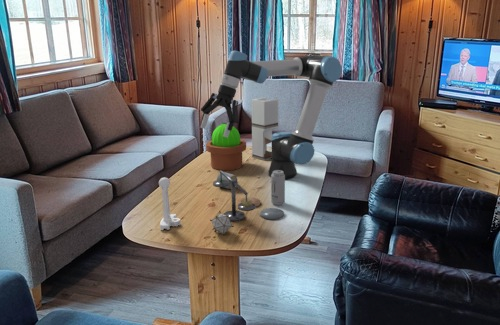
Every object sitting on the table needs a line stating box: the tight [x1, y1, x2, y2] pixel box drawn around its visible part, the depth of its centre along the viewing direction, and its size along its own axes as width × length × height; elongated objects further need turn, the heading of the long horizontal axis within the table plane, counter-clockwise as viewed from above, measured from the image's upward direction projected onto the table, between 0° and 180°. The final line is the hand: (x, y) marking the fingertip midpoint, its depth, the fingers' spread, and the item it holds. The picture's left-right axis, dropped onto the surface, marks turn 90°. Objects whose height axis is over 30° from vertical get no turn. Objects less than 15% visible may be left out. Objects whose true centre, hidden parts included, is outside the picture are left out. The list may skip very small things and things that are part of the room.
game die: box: [209, 211, 235, 236], centre depth 173 cm, size 9×8×10 cm
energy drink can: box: [270, 170, 286, 207], centre depth 200 cm, size 6×6×15 cm
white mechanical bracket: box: [158, 177, 181, 231], centre depth 179 cm, size 11×8×20 cm
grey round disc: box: [260, 207, 285, 221], centre depth 190 cm, size 10×10×1 cm
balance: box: [212, 170, 256, 223], centre depth 186 cm, size 25×9×18 cm, turn 37°
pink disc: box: [237, 196, 261, 208], centre depth 202 cm, size 10×10×1 cm
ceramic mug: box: [216, 171, 239, 190], centre depth 223 cm, size 11×8×8 cm
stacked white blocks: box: [251, 96, 279, 162], centre depth 268 cm, size 11×11×35 cm
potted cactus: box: [205, 122, 247, 171], centre depth 253 cm, size 22×22×25 cm
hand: (213, 132), depth 200 cm, fingers open, 13 cm apart
